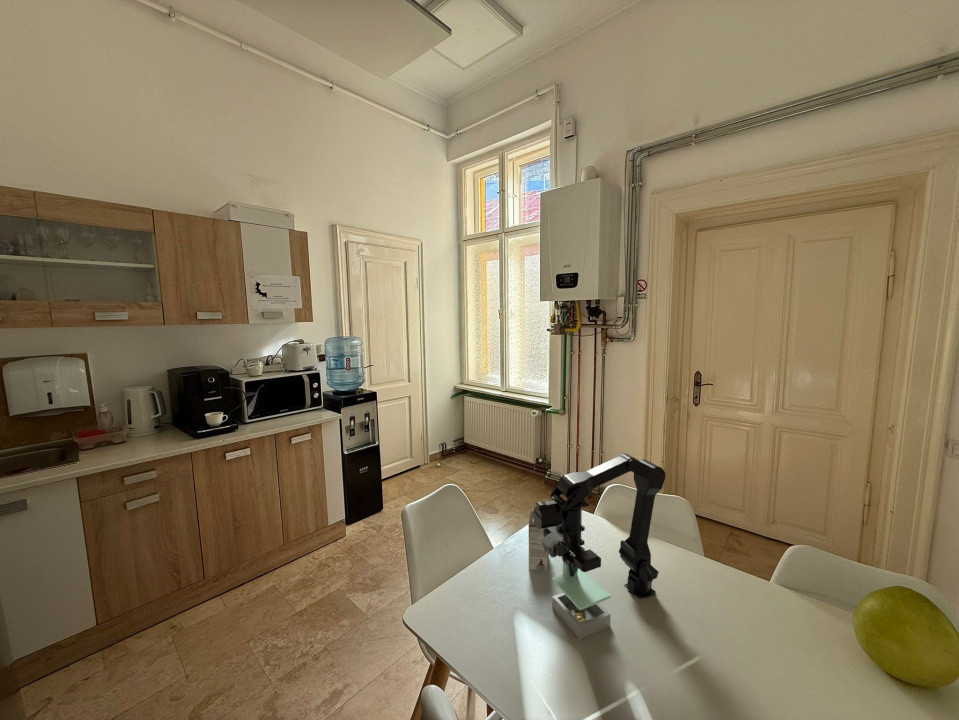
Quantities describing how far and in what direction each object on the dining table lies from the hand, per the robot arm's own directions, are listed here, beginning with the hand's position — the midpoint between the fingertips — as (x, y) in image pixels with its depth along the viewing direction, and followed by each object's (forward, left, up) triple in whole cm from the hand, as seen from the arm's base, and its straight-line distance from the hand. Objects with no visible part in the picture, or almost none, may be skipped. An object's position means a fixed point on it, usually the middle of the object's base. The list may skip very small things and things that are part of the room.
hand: (570, 574), depth 110 cm
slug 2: (+2, +7, -10) cm, 12 cm away
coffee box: (-3, -20, -10) cm, 23 cm away
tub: (0, +5, -10) cm, 11 cm away
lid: (0, +4, -1) cm, 5 cm away
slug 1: (-2, +2, -10) cm, 10 cm away
